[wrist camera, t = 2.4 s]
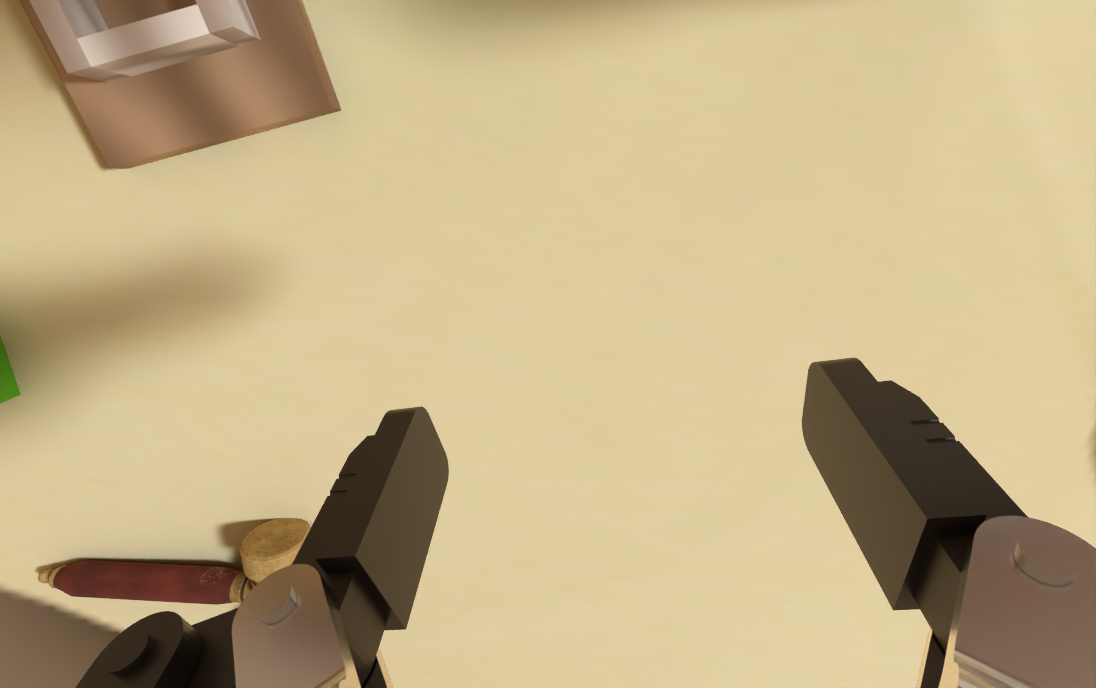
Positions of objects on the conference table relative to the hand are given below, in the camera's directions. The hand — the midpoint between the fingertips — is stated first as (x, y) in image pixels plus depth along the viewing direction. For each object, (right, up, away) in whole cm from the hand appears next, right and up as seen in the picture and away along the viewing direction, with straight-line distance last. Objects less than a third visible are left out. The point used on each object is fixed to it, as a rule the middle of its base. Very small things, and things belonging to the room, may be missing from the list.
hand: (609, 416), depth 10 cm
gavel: (-30, -16, +28) cm, 44 cm away
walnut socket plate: (-21, +21, +15) cm, 33 cm away
